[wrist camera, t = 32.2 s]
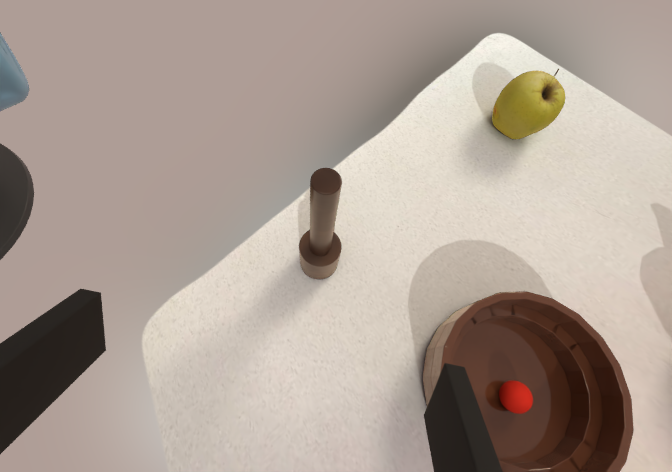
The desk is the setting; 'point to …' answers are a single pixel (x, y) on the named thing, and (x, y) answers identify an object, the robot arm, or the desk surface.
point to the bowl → (539, 383)
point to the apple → (528, 104)
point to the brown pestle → (322, 226)
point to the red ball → (515, 397)
